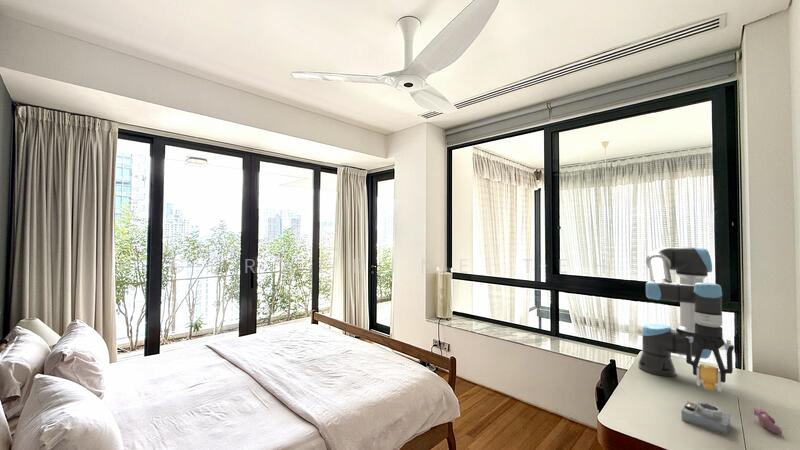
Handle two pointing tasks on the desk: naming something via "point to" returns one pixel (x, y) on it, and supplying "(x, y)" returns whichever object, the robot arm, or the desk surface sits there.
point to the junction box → (706, 417)
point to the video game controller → (766, 420)
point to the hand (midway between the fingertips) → (709, 387)
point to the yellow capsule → (709, 376)
